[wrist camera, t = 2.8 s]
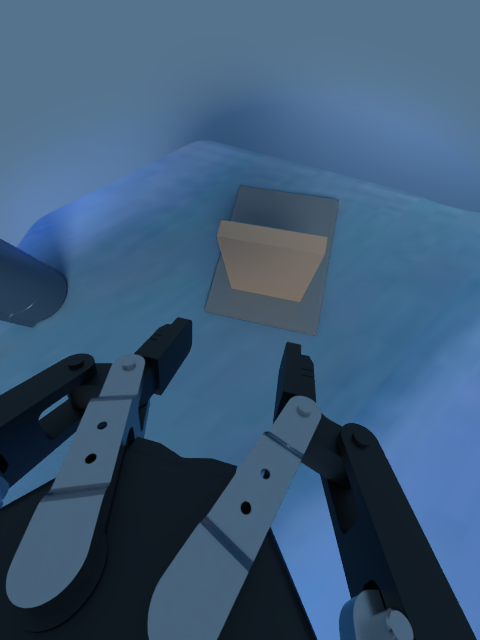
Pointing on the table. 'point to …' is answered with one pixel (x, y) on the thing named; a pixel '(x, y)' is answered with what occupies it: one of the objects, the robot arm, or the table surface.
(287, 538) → the table surface
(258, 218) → the mat
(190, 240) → the table surface
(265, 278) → the tile
